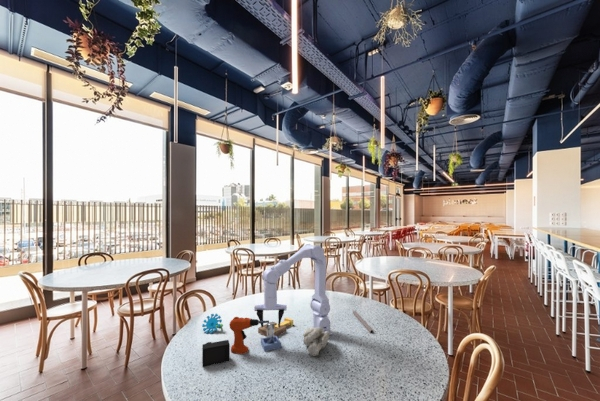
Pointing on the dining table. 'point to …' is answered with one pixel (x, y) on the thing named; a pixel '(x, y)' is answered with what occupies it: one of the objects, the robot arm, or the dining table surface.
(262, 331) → the socket
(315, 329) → the mineral
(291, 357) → the dining table surface
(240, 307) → the dining table surface
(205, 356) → the digital camera
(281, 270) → the robot arm
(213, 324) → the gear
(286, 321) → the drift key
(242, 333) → the toy drill
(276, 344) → the tray
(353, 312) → the metal rod
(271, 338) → the gray metallic cylinder
